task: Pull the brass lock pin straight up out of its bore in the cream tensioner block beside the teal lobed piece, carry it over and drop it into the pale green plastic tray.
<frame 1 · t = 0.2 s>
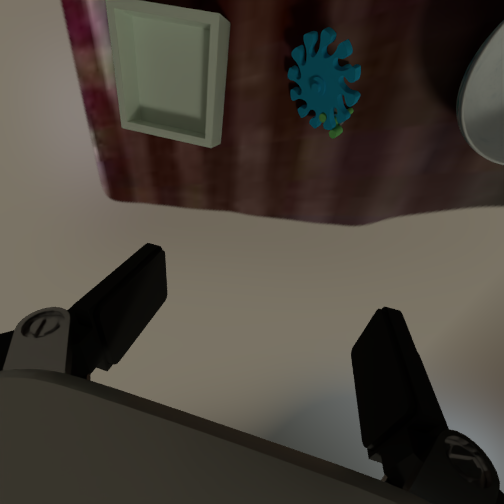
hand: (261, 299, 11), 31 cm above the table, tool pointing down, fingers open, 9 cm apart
teal lobed piece: (322, 90, 32), on the table
tray: (178, 81, 34), on the table
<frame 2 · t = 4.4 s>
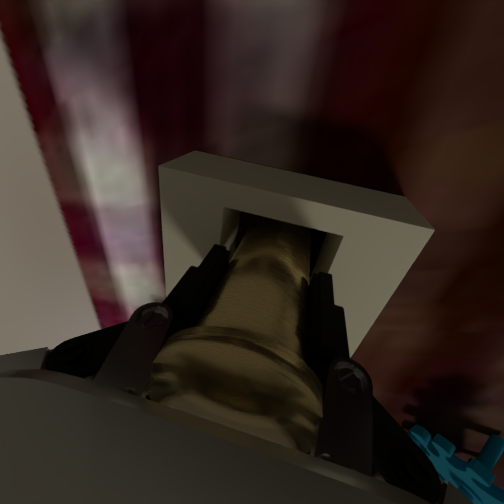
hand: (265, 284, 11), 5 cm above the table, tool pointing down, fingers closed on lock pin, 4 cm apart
teal lobed piece: (449, 433, 23), on the table
lock pin: (280, 233, 16), resting in tensioner, touching gripper
tensioner: (270, 269, 18), on the table
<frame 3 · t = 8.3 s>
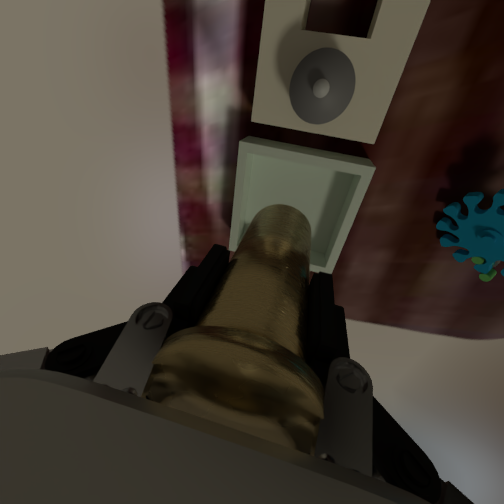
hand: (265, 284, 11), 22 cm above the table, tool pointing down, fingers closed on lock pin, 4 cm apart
teal lobed piece: (473, 222, 28), on the table
lock pin: (279, 233, 16), point 17 cm above the table, touching gripper
tensioner: (332, 45, 23), on the table
tray: (293, 203, 32), on the table
when the fingers open (8 cm above the table, at t = 12.0 s): lock pin drops 2 cm, resting on tray.
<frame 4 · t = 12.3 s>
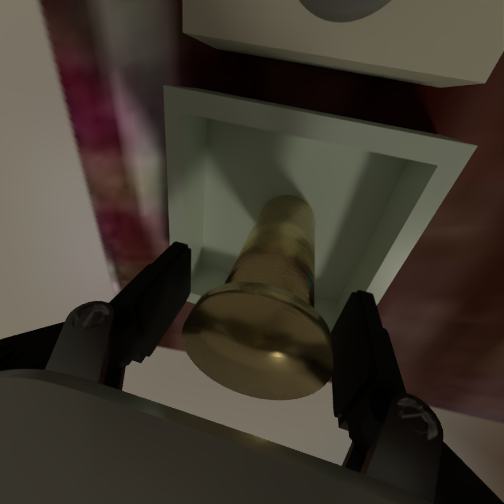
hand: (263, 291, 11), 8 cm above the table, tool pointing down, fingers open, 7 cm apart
lock pin: (286, 222, 17), point 1 cm above the table, touching tray
tray: (284, 218, 18), on the table
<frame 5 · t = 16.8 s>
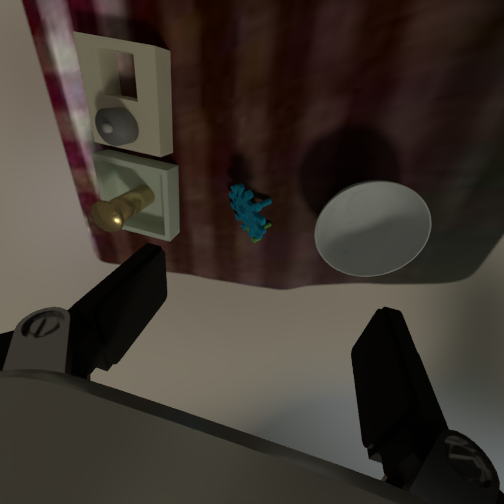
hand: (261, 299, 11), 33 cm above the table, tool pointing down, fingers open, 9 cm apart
teal lobed piece: (253, 206, 45), on the table
lock pin: (145, 194, 48), point 1 cm above the table, touching tray
tensioner: (137, 99, 39), on the table
tray: (146, 193, 48), on the table
chinaware: (360, 212, 41), on the table
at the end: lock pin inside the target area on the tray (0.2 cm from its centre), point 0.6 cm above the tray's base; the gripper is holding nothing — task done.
